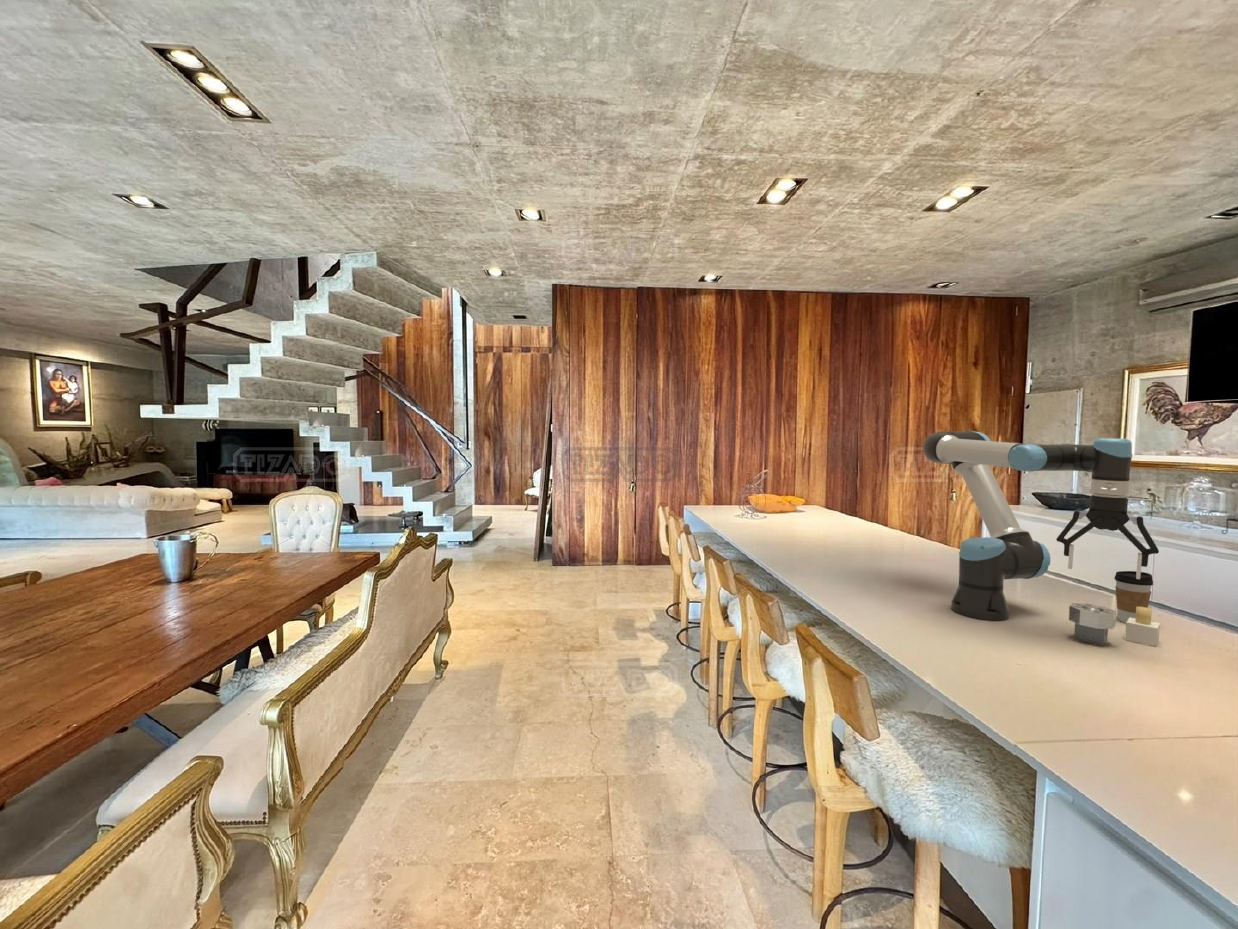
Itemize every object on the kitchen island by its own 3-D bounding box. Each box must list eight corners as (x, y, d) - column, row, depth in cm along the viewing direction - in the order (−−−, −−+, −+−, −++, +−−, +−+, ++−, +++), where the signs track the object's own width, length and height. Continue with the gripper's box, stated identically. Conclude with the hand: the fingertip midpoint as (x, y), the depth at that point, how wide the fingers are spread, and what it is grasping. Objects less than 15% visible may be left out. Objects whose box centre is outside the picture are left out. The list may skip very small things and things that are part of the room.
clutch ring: (1066, 622, 144) (1067, 607, 143) (1073, 614, 149) (1074, 601, 149) (1111, 631, 137) (1112, 616, 136) (1116, 623, 142) (1117, 609, 142)
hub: (1125, 640, 144) (1127, 608, 143) (1128, 634, 148) (1130, 603, 147) (1156, 646, 139) (1158, 613, 139) (1158, 641, 143) (1160, 609, 142)
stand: (1074, 640, 144) (1075, 607, 143) (1078, 634, 147) (1080, 602, 147) (1103, 647, 139) (1105, 613, 139) (1107, 641, 143) (1109, 608, 142)
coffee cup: (1158, 627, 153) (1162, 577, 152) (1125, 625, 155) (1127, 575, 154) (1136, 618, 161) (1139, 570, 160) (1104, 616, 163) (1107, 568, 162)
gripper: (1047, 492, 147) (1042, 566, 148) (1177, 502, 129) (1169, 585, 131) (1050, 490, 152) (1045, 561, 154) (1175, 499, 134) (1168, 579, 136)
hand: (1102, 573), depth 142 cm, fingers open, 13 cm apart
